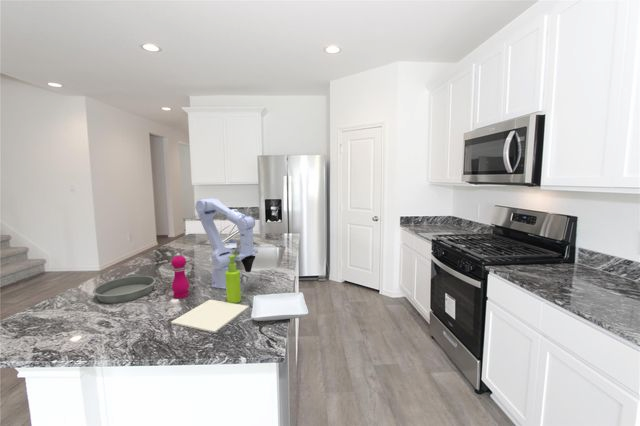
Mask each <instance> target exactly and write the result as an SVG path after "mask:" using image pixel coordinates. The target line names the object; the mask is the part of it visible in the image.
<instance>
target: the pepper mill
mask: <svg viewBox="0 0 640 426" xmlns="http://www.w3.org/2000/svg"><path fill="white" fill-rule="evenodd" d="M170 263H171V266H172V267H173V268H172V270H173V272H174V278H173V281H172V284H171V290H172V291H173V298H174V299H184V298H187V297H188V296H189V295H190V293H189V291H190V290H189V288H190V283H189V281H188V279H187V277H186V273H185V271H186V265H187V259H186V258H185V256H182V255H181V253H180V252H177V253H176V254H175V256H174V257H173V258H172V259H171V262H170Z"/></svg>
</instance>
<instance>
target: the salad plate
mask: <svg viewBox="0 0 640 426" xmlns="http://www.w3.org/2000/svg"><path fill="white" fill-rule="evenodd" d="M308 314H309V310H308V306H307V304H306V301H305V296H304V293H303V292H301V291H300V292H298V291H297V292H284V293H283V292H282V293H270V294H269V293H268V294H257V295H254V296H253V299H252V310H251V316H250V318H251V319H252V320H253V321H256V322H257V321H258V322H267V321H268V322H270V321H282V320H291V319H301V318H305V317H306V316H308Z"/></svg>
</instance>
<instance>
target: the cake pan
mask: <svg viewBox="0 0 640 426" xmlns="http://www.w3.org/2000/svg"><path fill="white" fill-rule="evenodd" d="M155 283H156V278H155V277H153V276H150V275H131V276H125V277H120V278H114V279H111V280H108V281H106V282H105V281H104V282H103V283H101V284H99V285H97V286H95V287H94V288H93V289H92V293H93V294H94V295H95V296H97V298H98V300H99V302H102V303H105V304H106V303H107V304H116V303H123V302H129V301H134V300H136V299H139V298H142V297H144V296H146V295H148V294H150V293H151V292H152V291H153V289H154V284H155Z"/></svg>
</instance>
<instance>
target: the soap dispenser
mask: <svg viewBox="0 0 640 426" xmlns="http://www.w3.org/2000/svg"><path fill="white" fill-rule="evenodd" d="M236 256H239V254H233V255H231V256H229V257H228V259H230V263H229V264H228V271H226V272H225V274H226V289H225V291H226V302H228V303H234V304H238V303H240V302H241V301H242V292H241V271H240V270H239V269H237V263H236V261H235V262H234V257H235V258H236Z"/></svg>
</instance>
